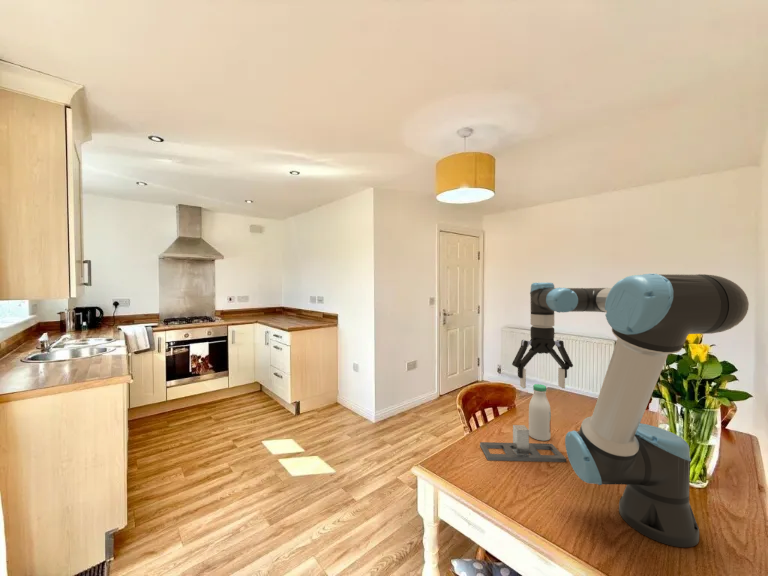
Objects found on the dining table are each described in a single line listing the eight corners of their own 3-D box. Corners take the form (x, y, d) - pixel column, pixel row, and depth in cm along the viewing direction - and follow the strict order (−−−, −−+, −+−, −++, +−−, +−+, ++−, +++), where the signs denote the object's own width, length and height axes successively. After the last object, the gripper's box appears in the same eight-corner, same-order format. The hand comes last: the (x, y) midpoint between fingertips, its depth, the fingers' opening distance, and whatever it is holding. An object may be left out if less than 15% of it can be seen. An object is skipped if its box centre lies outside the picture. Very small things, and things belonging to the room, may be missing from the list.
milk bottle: (548, 443, 120) (548, 390, 119) (526, 437, 124) (526, 386, 124) (552, 435, 126) (552, 385, 126) (531, 430, 130) (531, 381, 130)
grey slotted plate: (566, 462, 107) (566, 458, 107) (487, 460, 108) (487, 456, 108) (551, 446, 117) (551, 443, 117) (480, 445, 118) (480, 442, 118)
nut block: (528, 456, 111) (528, 430, 111) (517, 455, 111) (517, 430, 111) (524, 450, 115) (524, 425, 115) (512, 449, 115) (513, 424, 115)
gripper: (571, 325, 116) (571, 383, 116) (502, 325, 116) (502, 383, 116) (584, 327, 109) (584, 390, 108) (511, 327, 108) (511, 390, 108)
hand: (542, 387), depth 112 cm, fingers open, 13 cm apart
